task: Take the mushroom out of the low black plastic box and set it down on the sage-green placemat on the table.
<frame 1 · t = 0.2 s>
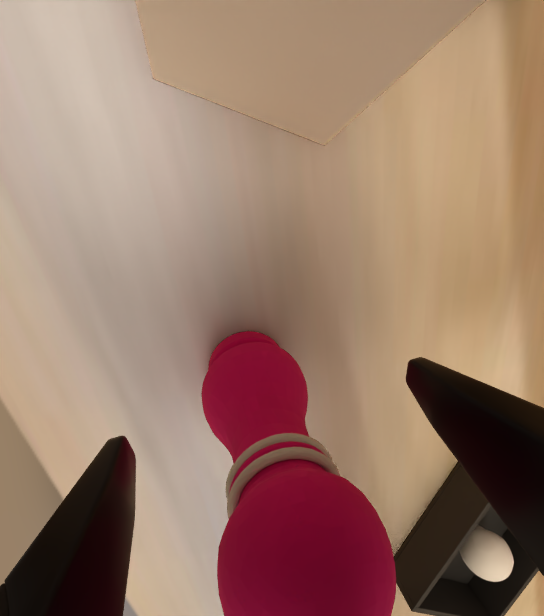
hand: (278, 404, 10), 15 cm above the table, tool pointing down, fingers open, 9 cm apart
mushroom: (464, 528, 36), resting in black box
milk: (267, 21, 20), on the table
pepper mill: (246, 365, 26), on the table
black box: (463, 526, 37), on the table
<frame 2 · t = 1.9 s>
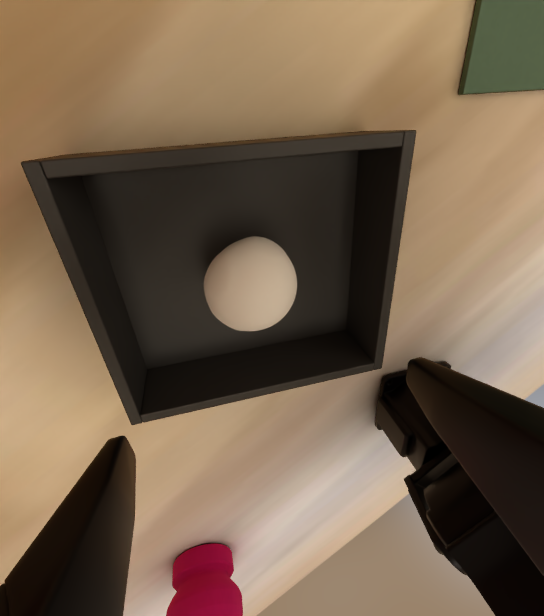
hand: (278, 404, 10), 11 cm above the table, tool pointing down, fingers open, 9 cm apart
mushroom: (242, 266, 19), resting in black box
pepper mill: (202, 556, 34), on the table
black box: (241, 264, 19), on the table
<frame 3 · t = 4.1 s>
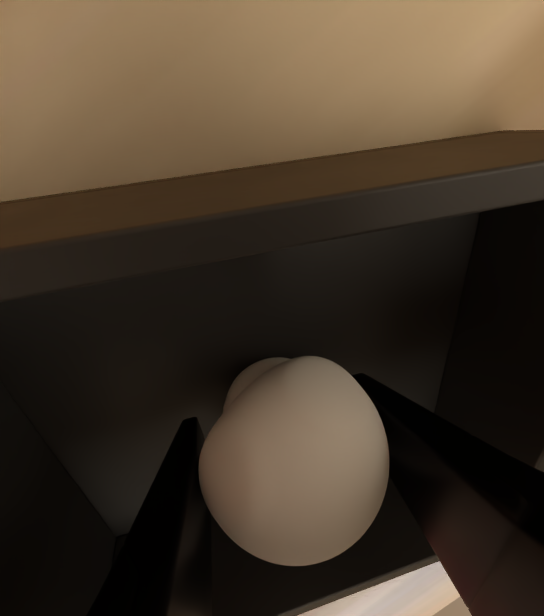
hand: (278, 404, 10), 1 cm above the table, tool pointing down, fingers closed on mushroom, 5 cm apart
mushroom: (268, 378, 11), resting in black box, touching gripper
black box: (266, 374, 11), on the table
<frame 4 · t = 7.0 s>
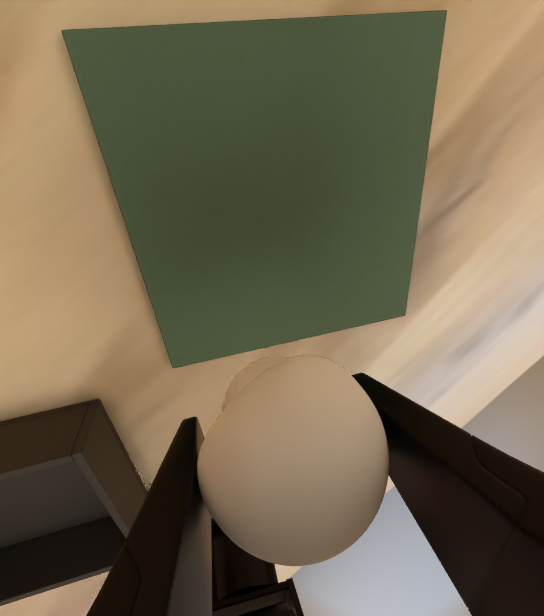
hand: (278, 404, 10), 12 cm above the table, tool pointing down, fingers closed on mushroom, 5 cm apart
mushroom: (267, 377, 11), point 11 cm above the table, touching gripper
black box: (26, 485, 24), on the table
placemat: (286, 216, 19), on the table
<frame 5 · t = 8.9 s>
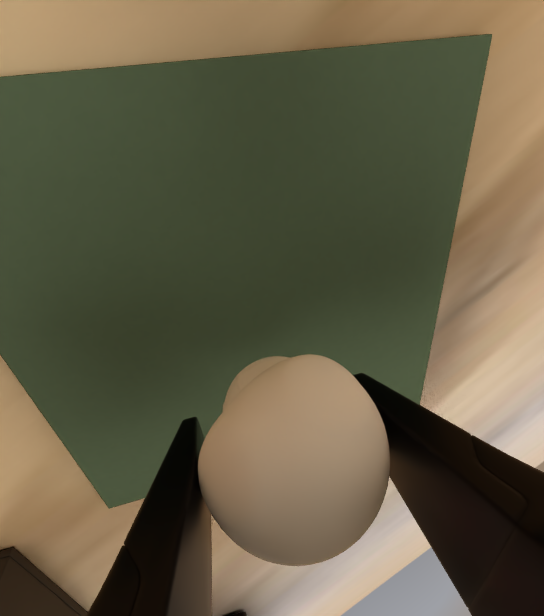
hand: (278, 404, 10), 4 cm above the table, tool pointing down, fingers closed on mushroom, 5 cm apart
mushroom: (267, 377, 11), point 3 cm above the table, touching gripper
placemat: (252, 324, 13), on the table
when the fingers open (1 cm above the table, at t = 10.1 s): mushroom stays where it is, resting on placemat.
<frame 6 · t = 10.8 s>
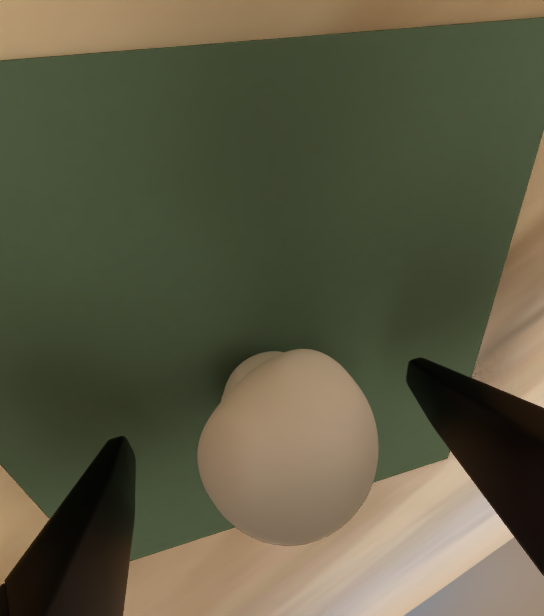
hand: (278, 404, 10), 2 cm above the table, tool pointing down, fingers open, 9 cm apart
mushroom: (265, 372, 11), resting on placemat
placemat: (265, 366, 11), on the table
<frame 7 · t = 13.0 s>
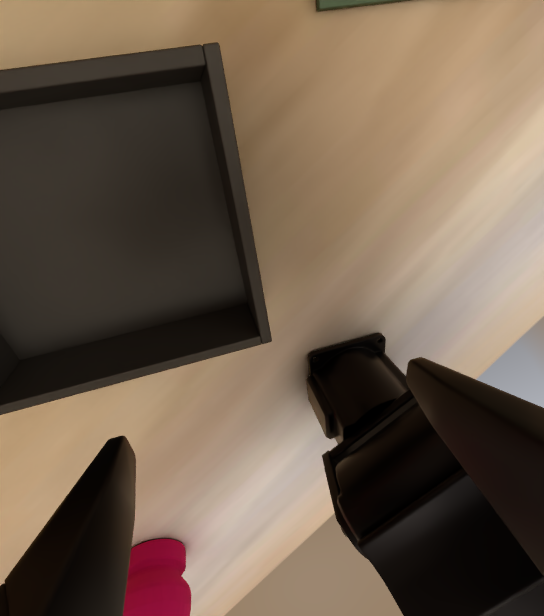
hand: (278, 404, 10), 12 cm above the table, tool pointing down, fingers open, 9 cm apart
pepper mill: (154, 552, 33), on the table
black box: (100, 236, 17), on the table
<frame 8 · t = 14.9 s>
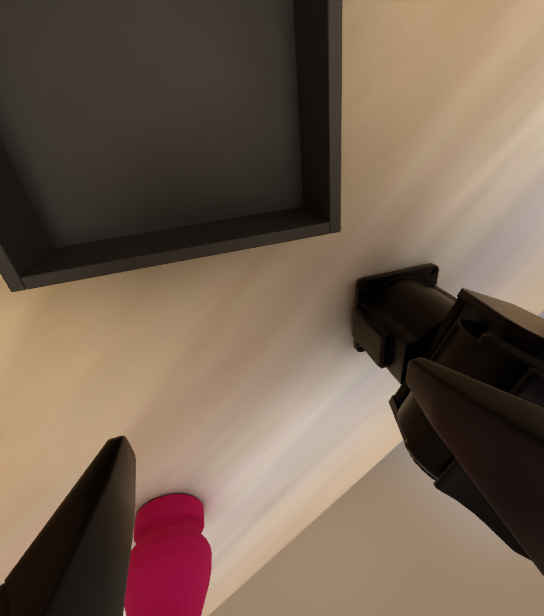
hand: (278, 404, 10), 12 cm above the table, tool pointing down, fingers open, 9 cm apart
pepper mill: (170, 511, 31), on the table
black box: (155, 100, 15), on the table
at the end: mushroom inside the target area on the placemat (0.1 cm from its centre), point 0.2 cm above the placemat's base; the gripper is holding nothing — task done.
